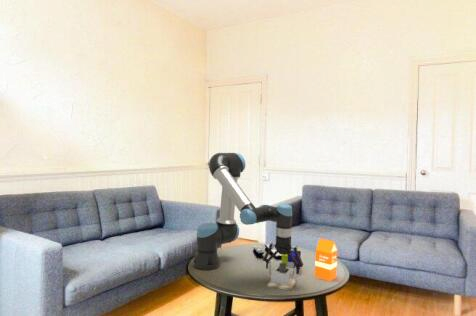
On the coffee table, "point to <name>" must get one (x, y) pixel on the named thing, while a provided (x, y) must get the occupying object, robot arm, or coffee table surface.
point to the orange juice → (326, 260)
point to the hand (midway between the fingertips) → (282, 277)
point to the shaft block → (282, 269)
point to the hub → (282, 276)
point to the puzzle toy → (290, 261)
